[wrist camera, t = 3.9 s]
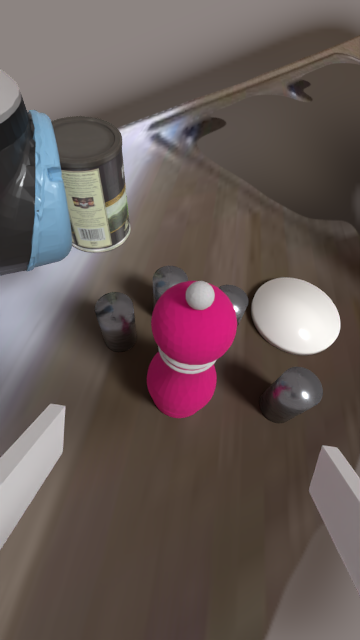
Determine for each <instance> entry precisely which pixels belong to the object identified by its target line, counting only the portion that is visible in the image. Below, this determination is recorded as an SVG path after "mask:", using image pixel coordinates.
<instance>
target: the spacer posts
mask: <svg viewBox="0 0 360 640" xmlns="http://www.w3.org/2000/svg"><path fill="white" fill-rule="evenodd" d="M186 281H188V278H187V275H186V273H185V272H184V271H183V270H182V269H180V268H178V267H175V266H164V267H162V268H160V269H158V270H157V271H156V272H155V274H154V276H153V310H154V307H155V305H156V303H157V301H158V299H159V298H160V297H161V295H162V294H163V293H164V292H165V291H166V290H167V289H169V288H171V287H172V286H174V285H176V284H179V283H181V282H186ZM219 289H220V290H221V291H223V292H224V293H225V294H226V295H227V296H228V298H229V299H230V301H231V303H232V304H233V306H234V309H235V312H236V318H237V326H238V324H239V322H240V320H241V318H242V316H243V314H244V312H245V310H246V308H247V306H248V297H247V295H246V293H245V292H244V291H243V290H242V289H240V288H239V287H236V286H233V285H223V286H220V287H219ZM95 312H96V316H97V319H98V322H99V325H100V328H101V331H102V334H103V337H104V340H105V343H106V345H107V347H108V348H109V349H111V350H113V351H116V352H124V351H127V350H129V349H130V348H132V347H133V346H134V344H135V342H136V339H137V335H136V326H135V318H134V309H133V303H132V301H131V299H130V298H129V297H128V296H127V295H125V294H123V293H119V292H112V293H108V294H105V295H103V296H102V297H101V298H100V299H99V300H98V301H97V303H96V305H95ZM322 394H323V389H322V385H321V383H320V381H319V379H318V378H317V376H316V375H315V374H314V373H312V372H311V371H309V370H308V369H305V368H302V367H292V368H290V369H288V370H286V371H285V372H284V373H283V374H282V375H281V376H280V377H279V378H278V379H277V380H276V381H275V382H274V383H273V384H272V385H271V386H270V387H269V388H268V389H266V390H265V391H264V392H263V393H262V395H261V397H260V400H259V405H260V409H261V411H262V413H263V415H264V416H265V417H266V418H267V419H268V420H270V421H272V422H274V423H284V422H286V421H288V420H290V419H292V418H294V417H295V416H297V415H299V414H301V413H302V412H304V411H306V410H308V409H309V408H311V407H313V406H315V405H317V404H318V403H319V402H320V400H321V398H322Z"/></svg>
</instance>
